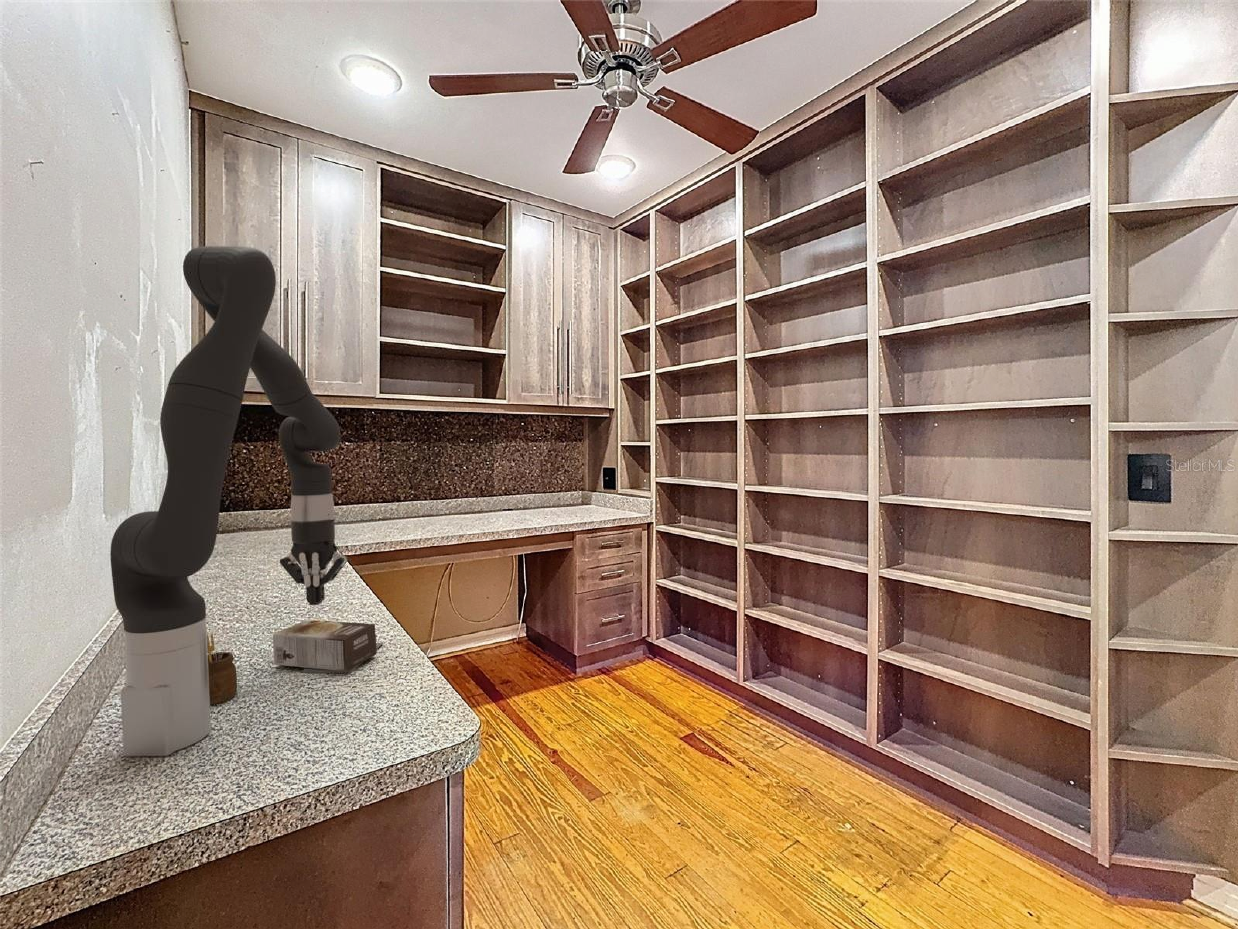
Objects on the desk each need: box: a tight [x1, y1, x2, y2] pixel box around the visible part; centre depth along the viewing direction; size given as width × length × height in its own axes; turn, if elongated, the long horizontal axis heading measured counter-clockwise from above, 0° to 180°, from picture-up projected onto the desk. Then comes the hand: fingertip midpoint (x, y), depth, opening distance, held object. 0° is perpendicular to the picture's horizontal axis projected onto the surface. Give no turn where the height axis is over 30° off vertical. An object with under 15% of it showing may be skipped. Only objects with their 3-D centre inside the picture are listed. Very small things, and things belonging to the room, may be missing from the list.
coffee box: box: [272, 619, 378, 671], centre depth 109 cm, size 9×6×16 cm
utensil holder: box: [207, 629, 238, 706], centre depth 94 cm, size 6×6×12 cm
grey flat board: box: [302, 642, 384, 674], centre depth 111 cm, size 14×9×1 cm, turn 0°
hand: (316, 604), depth 111 cm, fingers closed
